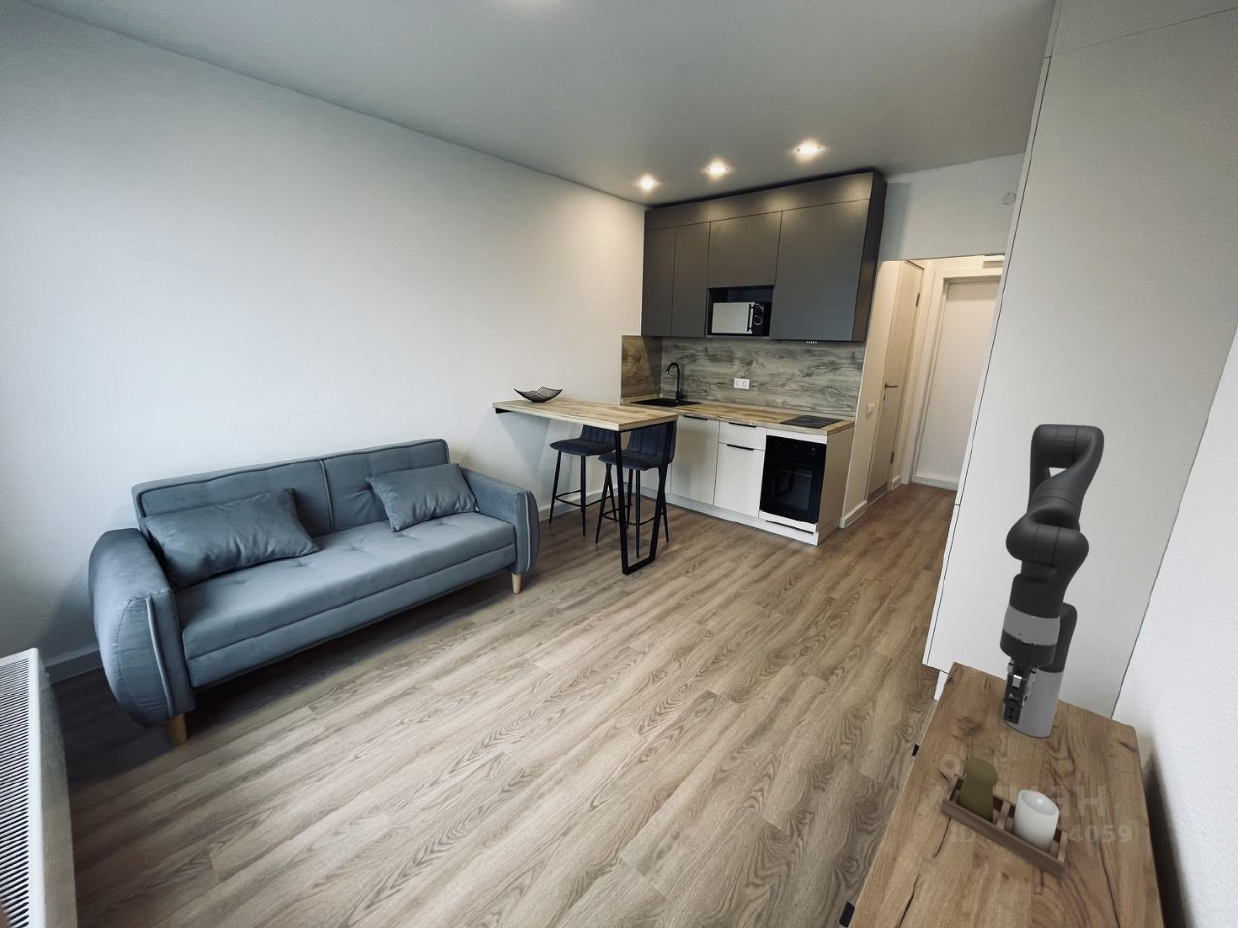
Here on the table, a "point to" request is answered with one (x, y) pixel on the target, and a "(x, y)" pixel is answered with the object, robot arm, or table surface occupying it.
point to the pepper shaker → (978, 788)
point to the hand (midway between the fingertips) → (1015, 709)
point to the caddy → (1006, 829)
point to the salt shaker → (1035, 820)
